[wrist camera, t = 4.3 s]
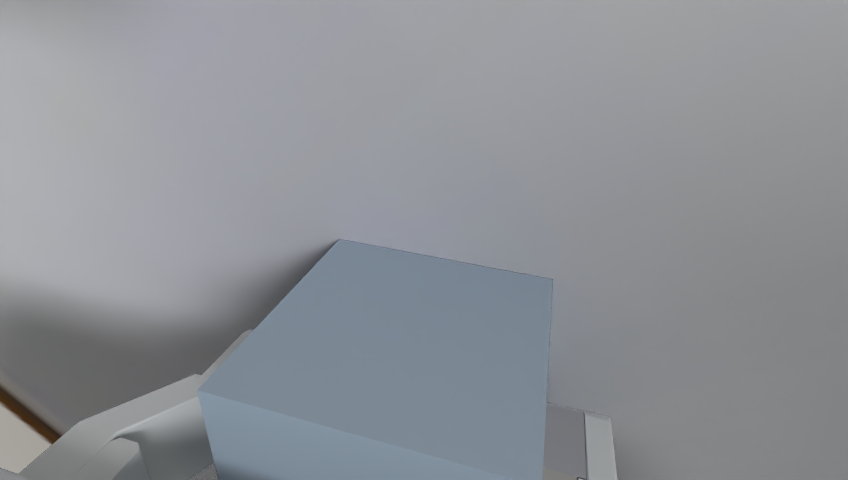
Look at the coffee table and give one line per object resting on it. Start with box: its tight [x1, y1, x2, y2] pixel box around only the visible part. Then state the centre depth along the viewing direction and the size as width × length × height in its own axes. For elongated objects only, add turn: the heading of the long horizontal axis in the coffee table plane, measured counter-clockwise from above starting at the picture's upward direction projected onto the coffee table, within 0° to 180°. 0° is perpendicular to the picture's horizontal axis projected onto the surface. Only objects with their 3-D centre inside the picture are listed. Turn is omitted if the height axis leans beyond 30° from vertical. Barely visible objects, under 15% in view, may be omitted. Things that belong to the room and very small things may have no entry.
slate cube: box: [197, 239, 553, 480], centre depth 10 cm, size 5×5×5 cm
